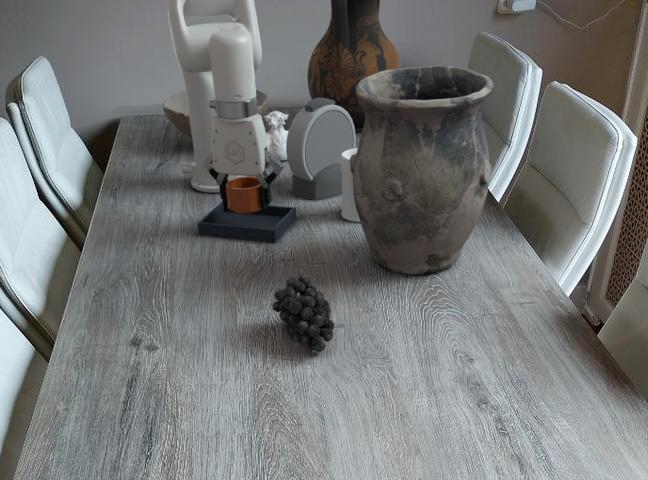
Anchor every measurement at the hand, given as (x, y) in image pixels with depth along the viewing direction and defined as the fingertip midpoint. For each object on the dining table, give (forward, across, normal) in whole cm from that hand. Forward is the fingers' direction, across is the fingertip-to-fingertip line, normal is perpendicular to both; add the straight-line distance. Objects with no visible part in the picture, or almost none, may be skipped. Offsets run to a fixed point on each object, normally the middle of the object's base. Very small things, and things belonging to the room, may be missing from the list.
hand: (246, 204), depth 156 cm
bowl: (+4, -29, +52) cm, 60 cm away
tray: (+5, 0, 0) cm, 5 cm away
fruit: (+5, +26, -40) cm, 48 cm away
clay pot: (+5, +36, -7) cm, 37 cm away
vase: (+4, +1, +73) cm, 73 cm away
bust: (+4, -9, +42) cm, 44 cm away
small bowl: (+1, 0, 0) cm, 1 cm away
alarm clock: (+5, +8, +24) cm, 26 cm away
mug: (+5, +22, +12) cm, 26 cm away
